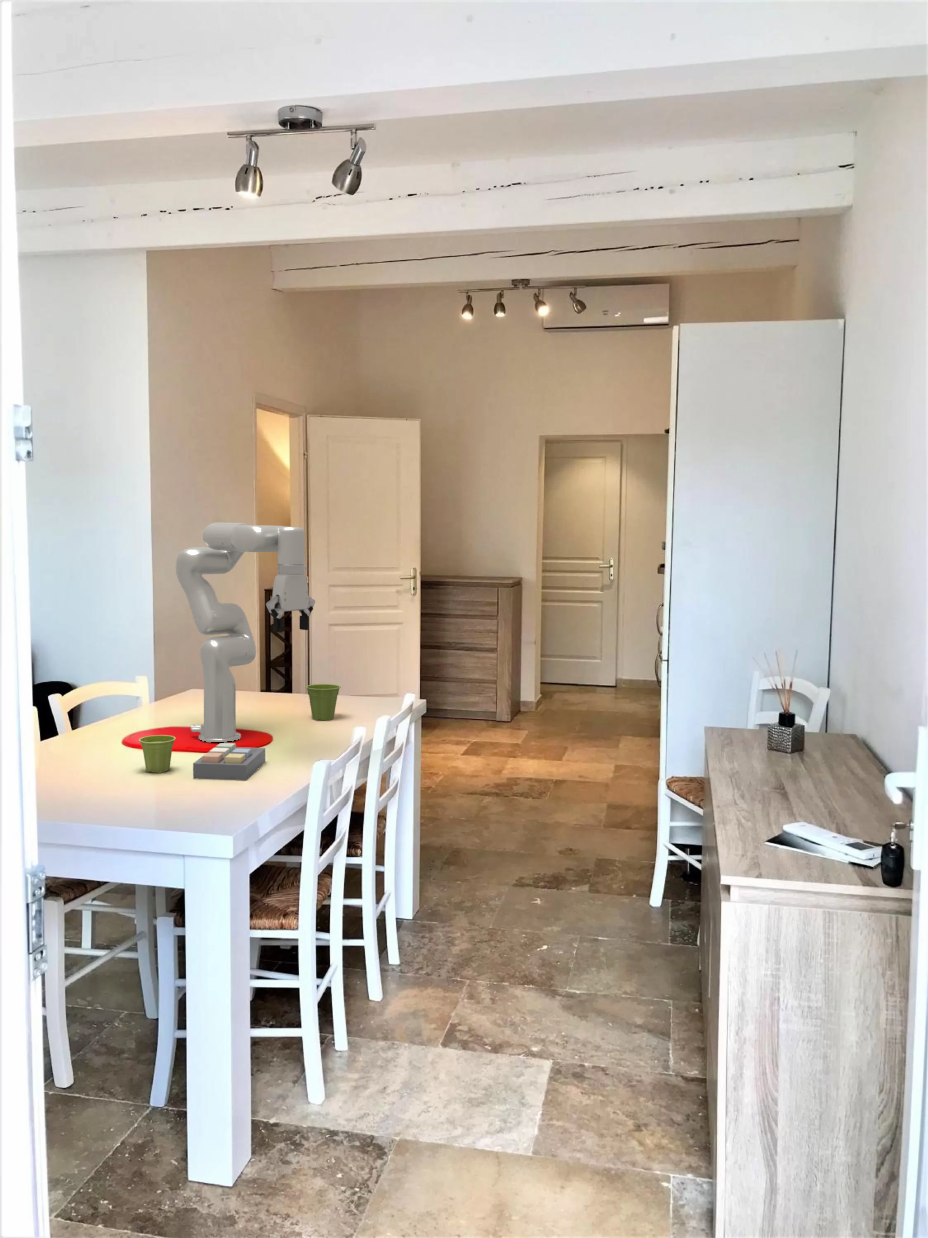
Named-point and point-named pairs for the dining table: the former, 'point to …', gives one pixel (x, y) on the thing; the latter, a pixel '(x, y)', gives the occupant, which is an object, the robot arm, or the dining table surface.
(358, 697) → the dining table surface
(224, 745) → the key sage
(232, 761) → the key ochre
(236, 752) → the key slate
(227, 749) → the key cream
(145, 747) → the plant pot
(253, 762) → the keypad
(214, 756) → the key terracotta
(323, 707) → the plant pot
